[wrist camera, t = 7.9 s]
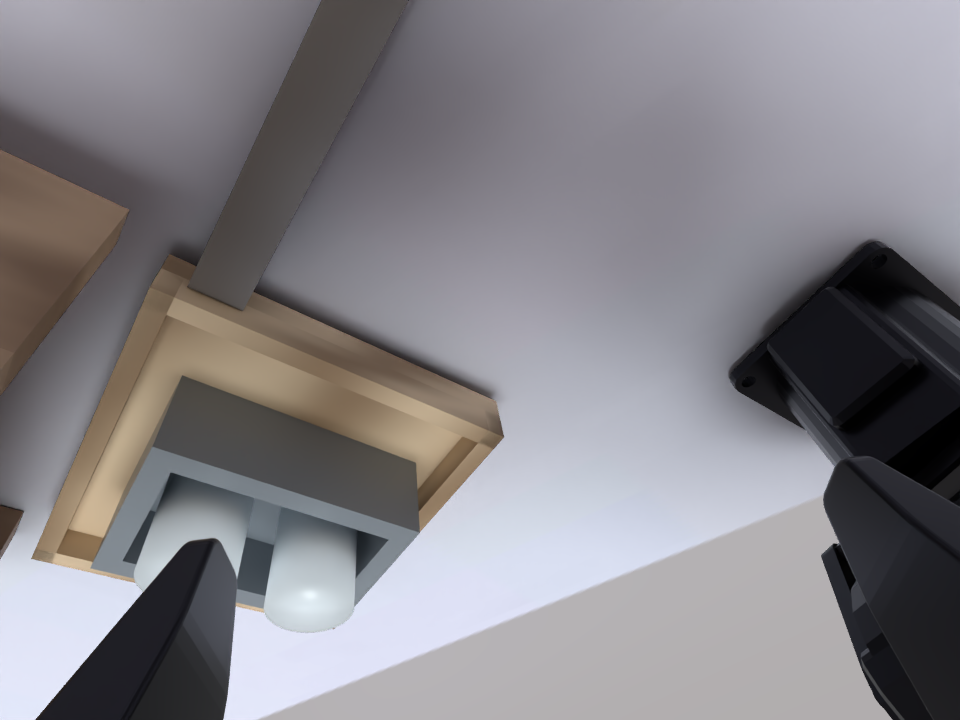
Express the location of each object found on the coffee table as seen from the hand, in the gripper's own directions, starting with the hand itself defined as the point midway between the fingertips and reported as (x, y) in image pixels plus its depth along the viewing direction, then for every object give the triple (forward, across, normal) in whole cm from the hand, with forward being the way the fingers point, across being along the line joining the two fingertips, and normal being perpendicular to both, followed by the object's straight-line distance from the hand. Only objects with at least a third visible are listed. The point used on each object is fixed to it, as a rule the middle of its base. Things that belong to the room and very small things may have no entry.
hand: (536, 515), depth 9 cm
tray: (+10, +7, +8) cm, 15 cm away
